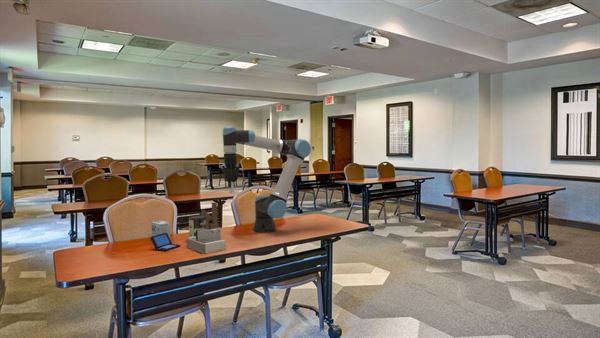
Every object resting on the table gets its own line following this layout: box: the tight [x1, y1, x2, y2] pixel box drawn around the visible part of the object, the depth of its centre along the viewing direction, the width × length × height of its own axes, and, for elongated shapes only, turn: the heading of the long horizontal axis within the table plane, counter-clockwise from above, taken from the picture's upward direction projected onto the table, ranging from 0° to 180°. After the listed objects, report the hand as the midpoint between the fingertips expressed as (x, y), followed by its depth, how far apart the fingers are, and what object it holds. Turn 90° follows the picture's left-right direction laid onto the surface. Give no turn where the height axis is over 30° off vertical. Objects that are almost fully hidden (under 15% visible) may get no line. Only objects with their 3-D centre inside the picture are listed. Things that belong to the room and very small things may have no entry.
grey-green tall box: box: [188, 214, 206, 238], centre depth 232 cm, size 10×10×14 cm
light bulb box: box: [151, 220, 171, 239], centre depth 235 cm, size 11×7×11 cm, turn 47°
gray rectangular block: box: [196, 227, 222, 243], centre depth 214 cm, size 14×5×10 cm, turn 114°
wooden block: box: [201, 201, 220, 229], centre depth 263 cm, size 4×11×18 cm, turn 130°
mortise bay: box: [185, 236, 227, 255], centre depth 213 cm, size 14×20×5 cm
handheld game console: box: [150, 233, 181, 252], centre depth 214 cm, size 12×11×7 cm
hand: (231, 192), depth 230 cm, fingers closed
